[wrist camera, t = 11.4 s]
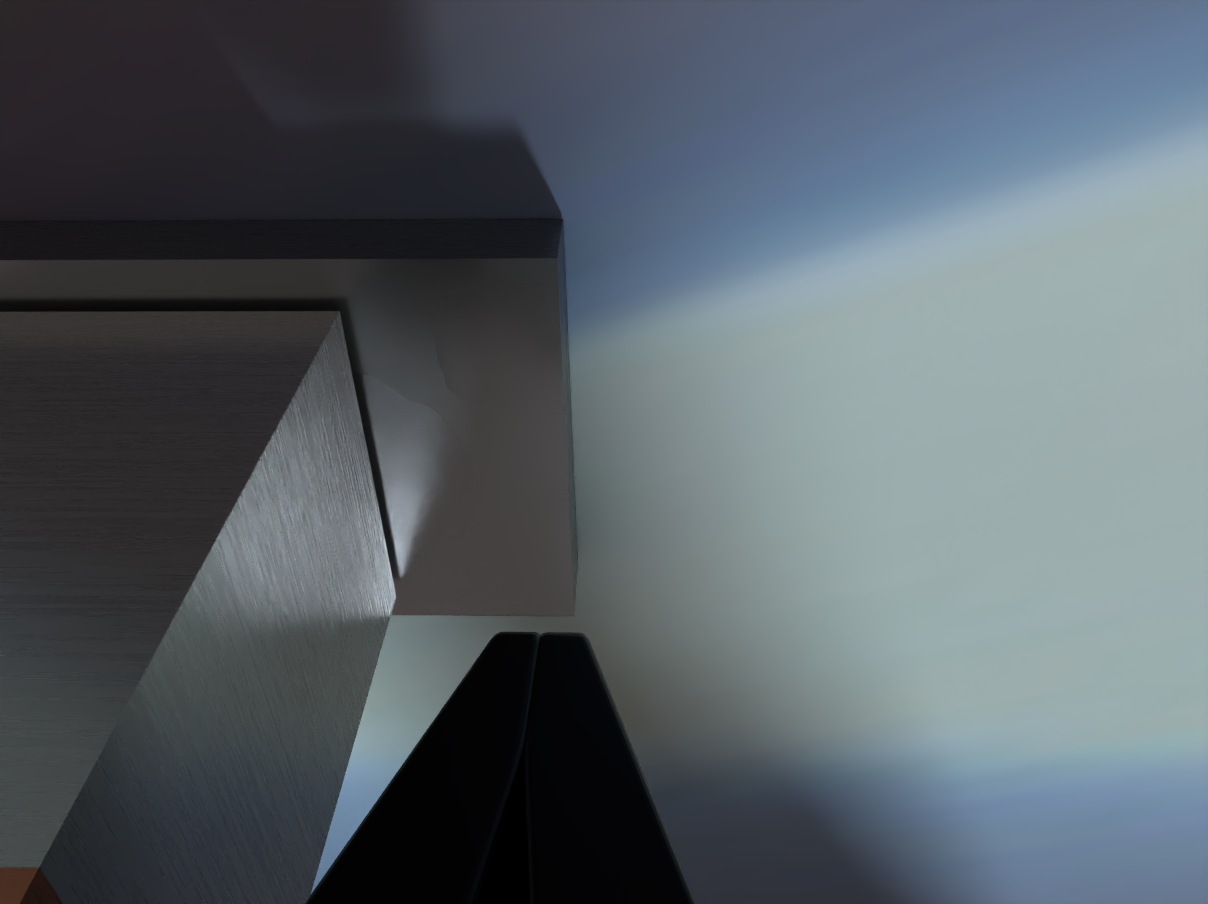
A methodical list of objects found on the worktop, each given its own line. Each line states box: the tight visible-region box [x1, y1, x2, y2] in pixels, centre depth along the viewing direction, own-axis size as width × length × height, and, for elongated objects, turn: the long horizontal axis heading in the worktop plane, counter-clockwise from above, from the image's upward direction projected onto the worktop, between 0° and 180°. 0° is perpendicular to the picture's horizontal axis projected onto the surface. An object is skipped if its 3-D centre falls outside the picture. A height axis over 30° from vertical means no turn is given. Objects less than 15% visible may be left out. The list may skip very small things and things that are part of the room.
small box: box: [0, 311, 396, 904], centre depth 8 cm, size 4×4×7 cm
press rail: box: [0, 219, 578, 616], centre depth 10 cm, size 5×12×4 cm, turn 91°
